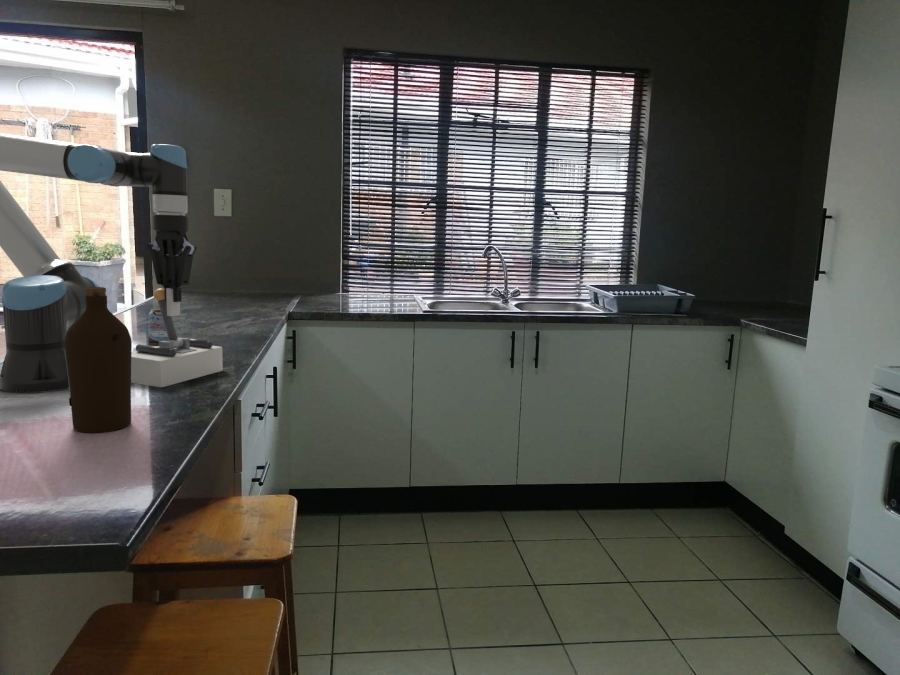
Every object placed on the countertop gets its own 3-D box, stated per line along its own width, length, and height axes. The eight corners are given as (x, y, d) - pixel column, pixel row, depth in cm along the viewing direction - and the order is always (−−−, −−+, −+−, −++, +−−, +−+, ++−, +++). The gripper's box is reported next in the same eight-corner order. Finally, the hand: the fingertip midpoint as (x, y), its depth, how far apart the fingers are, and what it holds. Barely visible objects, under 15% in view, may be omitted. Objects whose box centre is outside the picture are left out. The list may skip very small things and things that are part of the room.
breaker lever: (174, 347, 159) (157, 287, 159) (165, 350, 161) (148, 290, 160) (186, 345, 163) (169, 286, 162) (176, 348, 164) (159, 289, 163)
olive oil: (145, 418, 128) (139, 286, 124) (117, 435, 117) (110, 292, 113) (89, 415, 128) (81, 283, 124) (56, 433, 117) (47, 289, 113)
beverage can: (146, 353, 185) (145, 310, 183) (151, 348, 192) (149, 306, 190) (171, 353, 187) (170, 310, 185) (174, 348, 194) (173, 306, 192)
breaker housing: (161, 387, 150) (159, 350, 149) (117, 380, 155) (115, 344, 154) (222, 370, 169) (222, 337, 167) (181, 364, 173) (181, 332, 172)
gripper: (204, 215, 157) (206, 316, 161) (161, 213, 162) (164, 311, 166) (180, 214, 151) (183, 319, 154) (136, 212, 155) (140, 314, 159)
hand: (173, 315), depth 160 cm, fingers closed
